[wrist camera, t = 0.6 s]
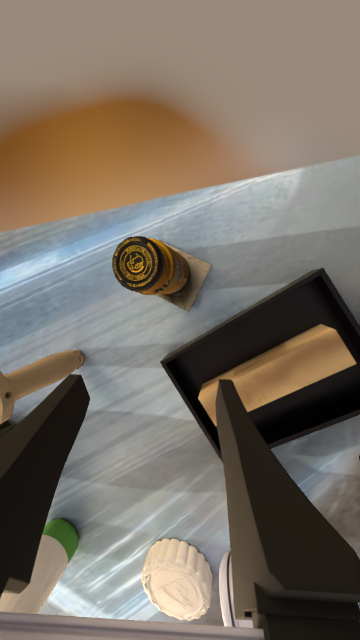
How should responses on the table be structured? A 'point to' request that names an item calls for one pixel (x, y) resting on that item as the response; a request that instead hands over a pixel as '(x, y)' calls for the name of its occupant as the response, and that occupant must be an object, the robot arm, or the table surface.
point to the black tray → (262, 335)
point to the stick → (283, 369)
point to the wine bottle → (44, 568)
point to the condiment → (159, 270)
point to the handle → (35, 378)
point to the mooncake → (177, 579)
